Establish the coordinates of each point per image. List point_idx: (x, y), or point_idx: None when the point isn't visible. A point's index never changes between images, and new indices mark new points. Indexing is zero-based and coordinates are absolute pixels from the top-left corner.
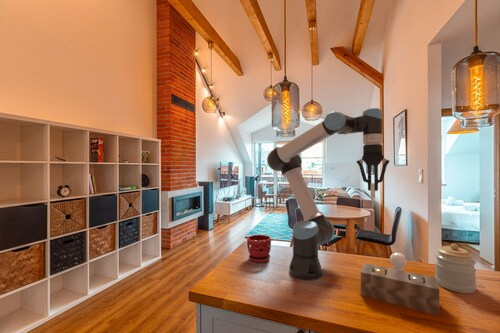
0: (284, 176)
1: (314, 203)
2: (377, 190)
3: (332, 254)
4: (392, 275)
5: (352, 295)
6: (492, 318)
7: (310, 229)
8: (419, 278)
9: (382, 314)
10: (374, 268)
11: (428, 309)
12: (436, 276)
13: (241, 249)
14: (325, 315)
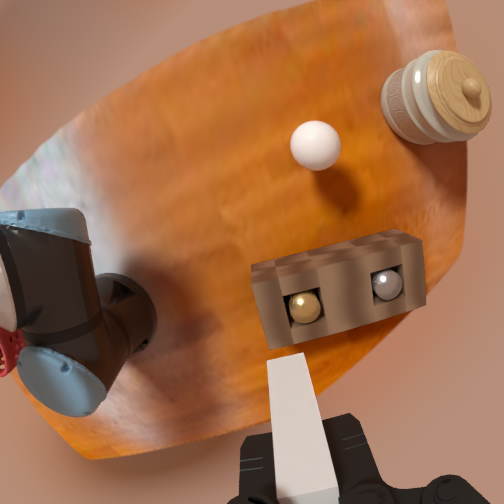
0: None
1: None
2: (351, 418)
3: (89, 133)
4: (339, 311)
5: (253, 335)
6: (462, 221)
7: (92, 409)
8: (395, 285)
9: (322, 354)
10: (292, 310)
11: None
12: (391, 116)
13: None
14: (249, 415)
